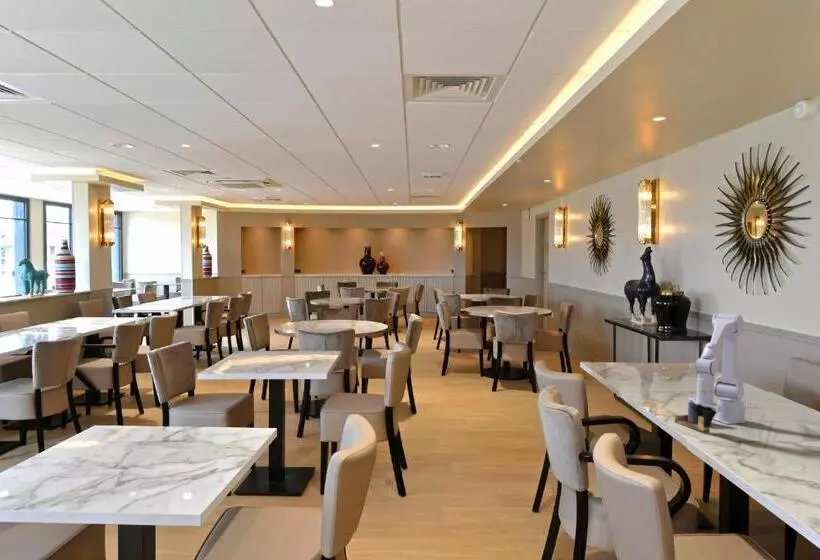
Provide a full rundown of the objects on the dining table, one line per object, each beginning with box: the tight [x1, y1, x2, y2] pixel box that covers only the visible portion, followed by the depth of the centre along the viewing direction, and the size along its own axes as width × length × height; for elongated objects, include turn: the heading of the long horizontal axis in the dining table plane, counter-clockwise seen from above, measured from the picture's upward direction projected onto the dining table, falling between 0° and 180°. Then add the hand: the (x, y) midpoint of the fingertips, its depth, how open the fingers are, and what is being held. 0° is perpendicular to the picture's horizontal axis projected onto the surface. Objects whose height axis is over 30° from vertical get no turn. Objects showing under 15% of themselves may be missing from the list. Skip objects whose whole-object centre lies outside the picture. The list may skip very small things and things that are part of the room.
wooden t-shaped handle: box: [674, 413, 711, 434], centre depth 219 cm, size 12×15×6 cm
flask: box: [687, 401, 698, 425], centre depth 224 cm, size 9×3×11 cm, turn 97°
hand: (703, 425), depth 212 cm, fingers closed on wooden t-shaped handle, 2 cm apart
